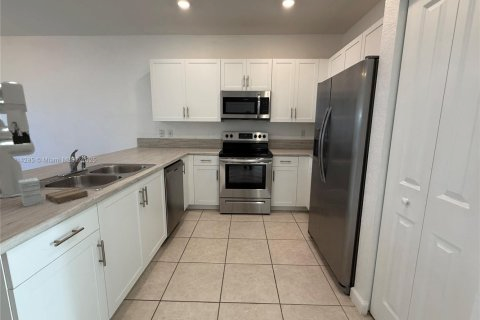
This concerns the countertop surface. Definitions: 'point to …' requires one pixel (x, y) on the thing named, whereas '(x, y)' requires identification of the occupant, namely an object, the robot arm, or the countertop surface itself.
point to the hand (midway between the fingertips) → (22, 143)
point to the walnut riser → (66, 195)
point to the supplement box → (30, 191)
